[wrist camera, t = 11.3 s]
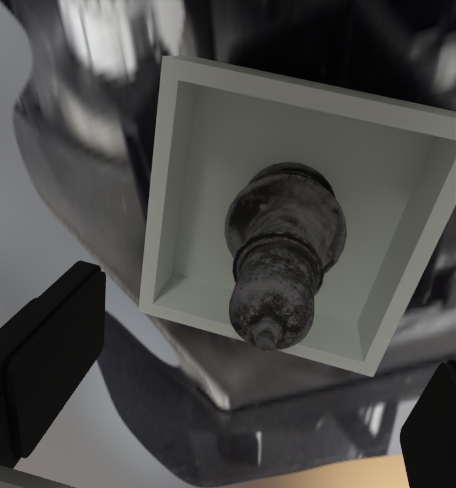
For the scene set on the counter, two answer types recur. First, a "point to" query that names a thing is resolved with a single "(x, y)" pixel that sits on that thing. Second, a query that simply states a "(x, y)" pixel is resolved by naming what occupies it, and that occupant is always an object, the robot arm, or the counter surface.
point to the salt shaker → (281, 252)
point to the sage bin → (310, 154)
